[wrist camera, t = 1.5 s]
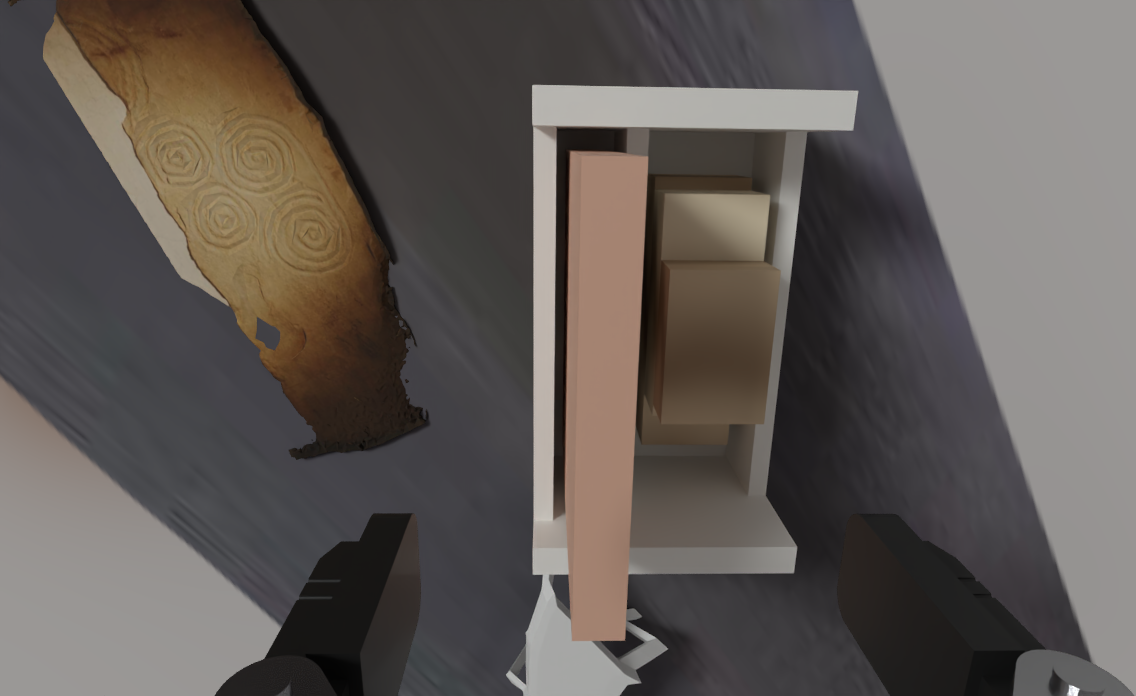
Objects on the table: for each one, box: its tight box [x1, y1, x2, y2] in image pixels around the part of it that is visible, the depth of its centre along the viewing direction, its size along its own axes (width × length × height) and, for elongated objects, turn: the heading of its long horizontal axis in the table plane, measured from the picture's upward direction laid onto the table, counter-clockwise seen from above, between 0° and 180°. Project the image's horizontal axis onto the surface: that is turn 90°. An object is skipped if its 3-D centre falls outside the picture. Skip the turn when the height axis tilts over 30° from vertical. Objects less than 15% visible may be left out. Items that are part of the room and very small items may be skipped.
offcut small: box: [653, 260, 781, 424], centre depth 26 cm, size 6×4×2 cm, turn 179°
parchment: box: [8, 0, 427, 460], centre depth 31 cm, size 25×10×1 cm, turn 23°
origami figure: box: [506, 574, 668, 696], centre depth 35 cm, size 12×8×5 cm
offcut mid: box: [644, 189, 770, 416], centre depth 28 cm, size 9×4×2 cm, turn 179°
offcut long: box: [635, 174, 752, 445], centre depth 30 cm, size 12×4×2 cm, turn 179°
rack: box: [532, 85, 858, 575], centre depth 28 cm, size 18×10×9 cm, turn 179°
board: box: [562, 149, 648, 641], centre depth 25 cm, size 14×2×14 cm, turn 179°
